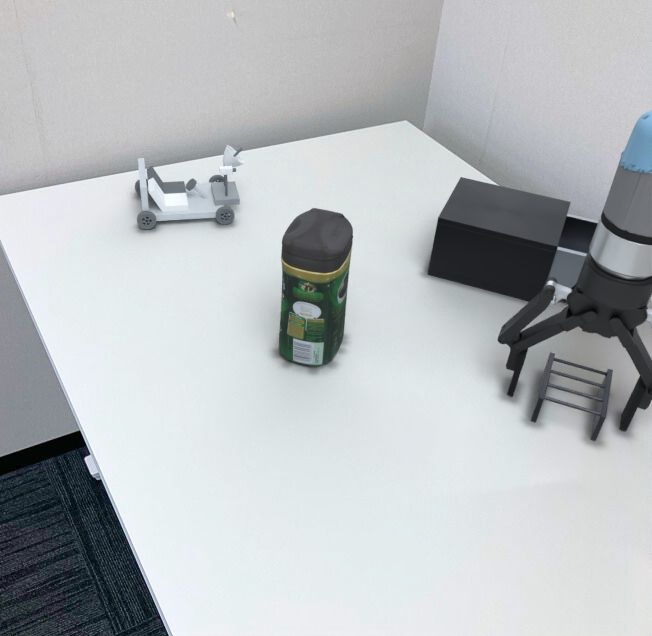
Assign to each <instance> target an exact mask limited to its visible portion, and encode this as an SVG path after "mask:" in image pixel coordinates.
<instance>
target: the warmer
mask: <svg viewBox="0 0 652 636" xmlns="http://www.w3.org/2000/svg"><path fill="white" fill-rule="evenodd" d="M570 207H571V201H568V200H564V199H559V198H554V197H550V196H547V195H546V196H545V195H542V194H537V193H532V192H528V191H525V190H520V189H515V188H511V187H507V186H502V185H497V184H493V183H488V182H484V181H480V180H475V179H471V178H467V177H463V176H460V178H459V179H458V181H457V182H456V185H455V187H454V188H453V190H452V192H451V193H450V196H449V197H448V199H447V201H446V203H445V204H444V206H443V208H442V210H441V212H440V214H439V215H438V217H437V222H436V226H435V232H434V238H433V243H432V248H431V253H430V259H429V263H428V269H427V275H428V276H432V277H436V278H440V279H444V280H447V281H451V282H455V283H459V284H462V285H466V286H469V287H470V286H471V287H473V288H477V289H481V290H485V291H489V292H492V293H496V294H500V295H504V296H508V297H512V298H516V299H519V300H523V301H526V302H530V301H531V300H532V299H533V298H534V297H535V296H537V295H538V294H539V293H540V292H541V291H542V289H543V287H544V285H545V283H546V280H547V279H548V276H549V273H550V270H551V267H552V263H553V260H554V257H555V254H556V251H557V248H558V244H559V241H560V237H561V234H562V230H563V227H564V224H565V220H566V217H567V213H568V214H569V209H570Z"/></svg>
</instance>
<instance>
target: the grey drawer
mask: <svg viewBox="0 0 652 636" xmlns="http://www.w3.org/2000/svg"><path fill="white" fill-rule="evenodd" d="M598 222H599V219H598V220H597V219H595V218H590V217H585V216H580V215H576V214H572V213H569V212H568V213H567V217H566V220H565V224H564V227H563V230H562V234H561V237H560V241H559V244H558V248H557V251H556V254H555V257H554V260H553V263H552V267H551V270H550V273H549V276H548V278H549V277H554V278H556V279H557V281H558V282H557V284H560V285H562V286H565V287H568V288H572V287H573V286H574V285H575V284H576V283H577V280H578V277H579V275H580V272H581V269H582V266H583V263H584V261H585V258H586V255H587V253H588V252H589V247H590V244H591V241H592V238H593V236H594V233H595V230H596V227H597V225H598Z"/></svg>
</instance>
